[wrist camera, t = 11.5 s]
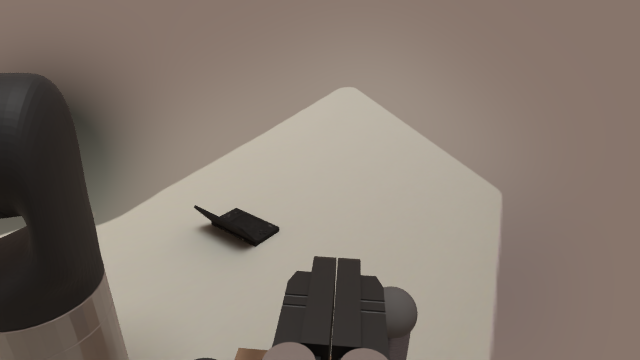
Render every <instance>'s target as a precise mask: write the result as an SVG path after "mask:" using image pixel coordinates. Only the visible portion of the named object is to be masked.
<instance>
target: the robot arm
mask: <svg viewBox="0 0 640 360" xmlns="http://www.w3.org/2000/svg"><path fill="white" fill-rule="evenodd" d="M17 216H22V217H23V218H24V220H25V222H26V225H27V226H26V227H24V228H21V229H19V230H17V231H15V232H13V233H11V234H9V235H7V236H4V237H2V238H0V360H129V359H128V355H127V351H126V347H125V344H124V340H123V336H122V332H121V328H120V325H119V321H118V317H117V313H116V310H115V306H114V302H113V298H112V295H111V291H110V288H109V284H108V280H107V276H106V272H105V269H104V264H103V261H102V257H101V253H100V248H99V243H98V238H97V232H96V227H95V223H94V218H93V214H92V210H91V206H90V202H89V198H88V193H87V188H86V183H85V178H84V172H83V167H82V161H81V156H80V150H79V144H78V140H77V135H76V131H75V126H74V123H73V119H72V116H71V113H70V110H69V107H68V105H67V103H66V101H65V99H64V97H63V95H62V93H61V92H60V91H59V89H58V88H57V87H56V85H55V84H54V83H52V82H51V81H50V80H48V79H47V78H45V77H44V76H41V75H38V74H31V73H0V219H1V218H9V217H17ZM335 278H336V258H332V257H318V256H314V260H313V267H312V272H305V271H297V272H296V273H295V274H294V275H293V276H292V277H291V278H290V279H289V281H288V283H287V288H286V292H285V296H284V300H283V306H282V309H281V313H280V317H279V321H278V325H277V330H276V334H275V338H274V342H273V345H272V348H271V349H269V350H268V351H267V352H266V354H265V355H264V357H263V359H261V360H330V354H331V360H391V359H390V356H389V348H388V336H387V324H386V314H385V299H384V288H383V286H382V285H381V283H380V282H379V280H378V279H377V277H376V276H363V275H360V259H348V258H338V268H337V281H336V294H335ZM334 299H335V307H334ZM333 315H334V321H333ZM332 328H333V334H332ZM331 341H332V349H331ZM196 360H216V359H212V358H200V359H196Z"/></svg>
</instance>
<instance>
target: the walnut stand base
mask: <svg viewBox="0 0 640 360" xmlns="http://www.w3.org/2000/svg"><path fill="white" fill-rule="evenodd" d="M267 351H268V350H257V349H245V348H238V351H237V354H236V357H235V360H261V359H263V357H264V355H265V354H266V352H267ZM330 360H331V356H330Z"/></svg>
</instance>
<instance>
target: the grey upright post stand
mask: <svg viewBox="0 0 640 360" xmlns="http://www.w3.org/2000/svg"><path fill="white" fill-rule="evenodd" d="M384 299H385V314H386V324H387V336H388V348H389V356H390V359H391V360H406V357H407V351H408V345H409V339H410V332H411V330H412V329H413V328H414V326H415V324H416V321H417V307H416V304H415V302H414V300H413V298H412V297H411V296H410V295H409V294H408V293H407V292H406V291H404V290H403V289H400V288H397V287H385V288H384Z"/></svg>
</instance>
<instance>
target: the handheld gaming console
mask: <svg viewBox="0 0 640 360" xmlns="http://www.w3.org/2000/svg"><path fill="white" fill-rule="evenodd" d="M194 208H195V209H196V210H198V211H199V212H200V213H202V214H203V215H204V216H206V217H207V218H208V219H209V220H211V222H212V225H214V226H216V227H218V228H220V229H223V230H224V231H226V232H228V233H230V234H232V235H234V236H236V237H238V238H240V239H244V241H246V242H248V243H250V244H251V245H253V246H255V247H256V246H257V245H259V244H260V243H262V242H263V241H265V240H266V239H268V238H270V237H271V236H273V235H274V234H276V233H277V232H279V227H278V226H275V225H273V224H271V223H269V222H267V221H264V220H262V219H260V218H258V217H255V216H253V215H251V214H249V213H247V212H244V211H242V210H240V209H238V208H235V209H233V210H231V211H229V212H228V213H226V214H224V215H222V216H220V217H218V216H216V215H214V214H212V213H210V212H208V211H206V210H204V209H202V208H200V207H198V206H196V205H195V206H194Z"/></svg>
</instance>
